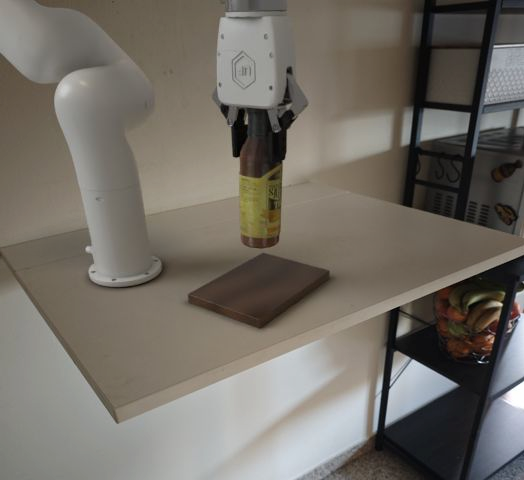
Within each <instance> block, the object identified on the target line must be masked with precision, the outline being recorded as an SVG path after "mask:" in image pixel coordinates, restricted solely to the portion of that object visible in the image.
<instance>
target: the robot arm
mask: <svg viewBox="0 0 524 480" xmlns="http://www.w3.org/2000/svg"><path fill="white" fill-rule="evenodd" d="M219 3H220V5H221V6H223V7H224V14H225V16H223V17H220V19H219V26H218V33H217V34H218V35H217V44H216V87H215V89H214V91H213V92H212V94H211V99H212V101H213V102H214V104H216V106H217V107H218V108H219V110H220V113H221V114H222V115H223V117H224V118H225V120H226V125H227V127H229V128H230V132H231V133H230V134H231V151H232V153H231V154H232V157H233V158H234V159H237V158H240V151H241V149H242V147H243V145H244V144H245V142H246V139H247V138H248V134H247V130H248V123H246V121H247V117H248V114H247V110H246V109H247V108H258V109H267V111H268V115H269V119H270V123H271V126H272V130H273V131H272V132H269V135H268V141H269V162H270V163H272V164H275V163H277V162H280V161H285V160H286V157H287V153H288V152H287V151H288V150H287V149H288V148H287V147H288V144H287V143H288V142H287V141H288V130H290V129H291V127H292V125H293V123H294V122H295V121H296V120H297V119H298V117H299V115H301V114H302V112H304V110H306V108H307V107H308V106H309V100H308V98H307V97H306V95H305V93H304V92H303V90H302V88H301V87H300V86H299V84H298V83H297V65H296V64H297V62H296V45H295V36H294V29H293V23H292V17H291V15H287V14H288V0H219ZM0 54H1V55H2V56H3V57H4V58H5V59H6V60H7V61H8V62H9V63H10V64H11V65H12V66H13V67H14V68H15V69H16V70H17V71H18V72H19V73H20V74H22V76H24V77H25V78H26V79H28V80H29V81H31V82H34V83H36V84H40V85H41V84H42V85H47V84H49V85H51V84H57V87H56V89H55V92H54V95H53V97H54V100H53V105H54V106H53V107H54V110H55V111H54V112H55V115H56V119H57V122H58V124H59V126H60V129H61V131H62V133H63V136H64V138H65V141H66V143H67V146H68V149H69V152H70V156H71V158H72V159H71V160H72V162H73V166H74V170H75V174H76V175H75V176H76V179H77V184H78V187H79V191H80V196H81V200H82V205H83V211H84V214H85V219H86V223H87V227H88V233H89V237H90V243H91V245H87V246H86V247H85V253H87V254H90V255H92V258H93V263H92V264H91V265H90V267H88V276H89V280H91V281H92V282H93V283H95V284H96V285H99V286H104V287H110V288H123V287H125V288H126V287H131V286H137V285H141V284H144V283H146V282H149V281H152V280H153V279H155V278H156V277H158V275H160V273H161V272H162V271H163V265H162V260H161V259H160V258H159V257H157V256H156V255H153V254H152V250H151V244H150V237H149V231H148V224H147V223H148V222H147V217H146V210H145V203H144V198H143V197H144V196H143V191H142V185H141V179H140V178H141V177H140V172H139V166H138V163H137V160H136V155H135V154H134V152H133V150H132V148H131V147H132V146H131V145H130V143H129V142H128V139H127V135H126V134H127V133H129V132H132V131H136V130H137V129H140V128H141V127H144V126H145V125H146V124H148V123H149V121H151V119H152V118H153V116H154V113H155V110H156V103H157V102H156V95H155V91H154V88H153V86H152V84H151V81H150V80H149V78H148V77H147V75H146V74H145V73H144V71H143V70H142V69H141V68H140V67H139V66H138V64H136V62H135V61H134V60H133V59H132V58H131V57H130V55H128V54H127V53H126V52H125V51H124V50H123V49H122V48H121V47H120V46H119V45H118V43H117V42H115V41H114V40H113V39H112V37H111V36H110V35H109V34H108V33H107V32H106V31H105V30H104V29H103V27H101V26H100V25H99V24H98V23H97V22H95V20H93V19H92V18H91V17H89V16H88V15H86V14H85V13H82V12H81V11H78V10H76V9H73V8H69V7H68V8H67V7H50V6H45V5H42V4H40V3H38V2H37V1H35V0H0ZM288 105H290V106H289V107H287V106H288ZM246 107H247V108H246Z"/></svg>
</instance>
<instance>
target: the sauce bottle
mask: <svg viewBox="0 0 524 480" xmlns="http://www.w3.org/2000/svg"><path fill="white" fill-rule="evenodd" d="M246 108H247V107H246ZM246 110H247V124H248V130H247V134H248V138H247V139H246V142H245V144H244V145H243V147H242V149H241V151H240V157H238V158H239V172H238V189H239V190H238V191H239V193H238V194H239V195H238V196H239V197H238V198H239V199H238V200H239V203H238V204H239V232H240V241H241V244H242V245H244V246H245V247H248V248H251V249H259V250H263V249H267V248H272V247H275V246H276V245H278V244H279V243H280V235H281V231H282V230H281V229H282V227H281V226H282V223H281V222H282V203H283V201H282V200H283V199H282V198H283V197H282V196H283V171H284V170H283V167H284V162H283V161H284V160H283V161H280V162H277V163H275V164H272V163H270V162H269V141H268V135H269V132H272V131H273V130H272V126H271V123H270V119H269V115H268V111H267V109H258V108H247V109H246Z"/></svg>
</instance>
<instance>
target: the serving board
mask: <svg viewBox="0 0 524 480" xmlns="http://www.w3.org/2000/svg"><path fill="white" fill-rule="evenodd" d="M330 272H331V271H330V270H329V269H325V268H322V267H319V266H314V265H310V264H307V263H304V262H299V261H295V260H292V259H288V258H285V257H282V256H279V255H278V256H277V255H274V254H270V253H266V252H261V253H259V254H258V255H256V256H254V257H252V258H251V259H249V260H247V261H245V262H243V263H241V264H240V265H237V266H235V267H234V268H233V269H231V270H228V271H226V272H225V273H223V274H222V275H220V276H218V277H216V278H214V279H212V280H211V281H209V282H207V283H206V284H203V285H202V286H200V287H197V288H196V289H195V290H193V291H190V292H189V293H187V300H188V303H190V304H191V305H195V306H198V307H199V308H203V309H205V310H209V311H211V312H214V313H217V314H219V315H222V316H225V317H227V318H231V319H232V320H236V321H238V322H241V323H244V324H247V325H249V326H252V327H254V328H258V329H261V328H262V327H264V326H265V325H266V324H268V323H269V322H271V321H272V320H273V319H275V318H276V317H277V316H279V315H280V314H282V313H283V312H285V311H286V310H287V309H289V308H290V307H292V306H294V304H296V303H298V302H299V301H300V300H301V299H303V298H304V297H306V296H307V295H309V294H310V293H311V292H313V291H314V290H315V289H316V288H318V287H320V286H321V285H322V284H324V283H325V282H327V281H328V280H329V279H330V274H331V273H330Z"/></svg>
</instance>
